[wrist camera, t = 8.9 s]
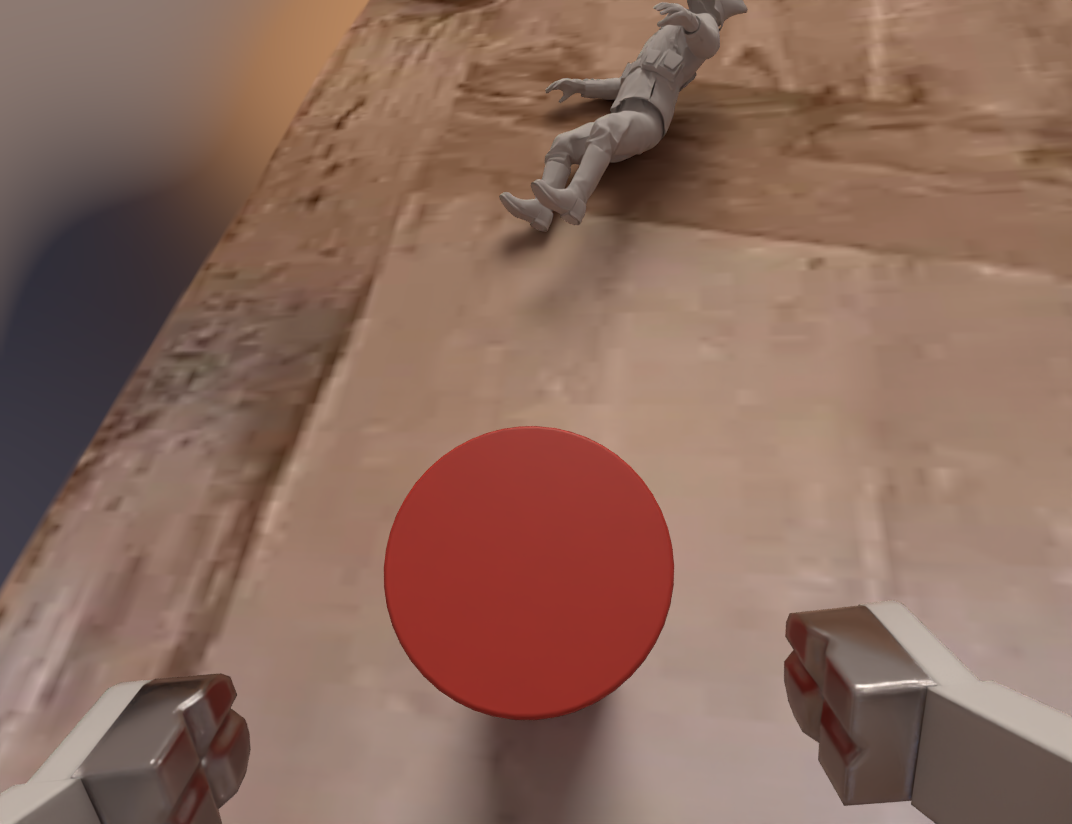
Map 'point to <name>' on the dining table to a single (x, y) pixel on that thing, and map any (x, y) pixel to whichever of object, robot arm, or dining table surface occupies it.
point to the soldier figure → (625, 110)
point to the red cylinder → (528, 573)
